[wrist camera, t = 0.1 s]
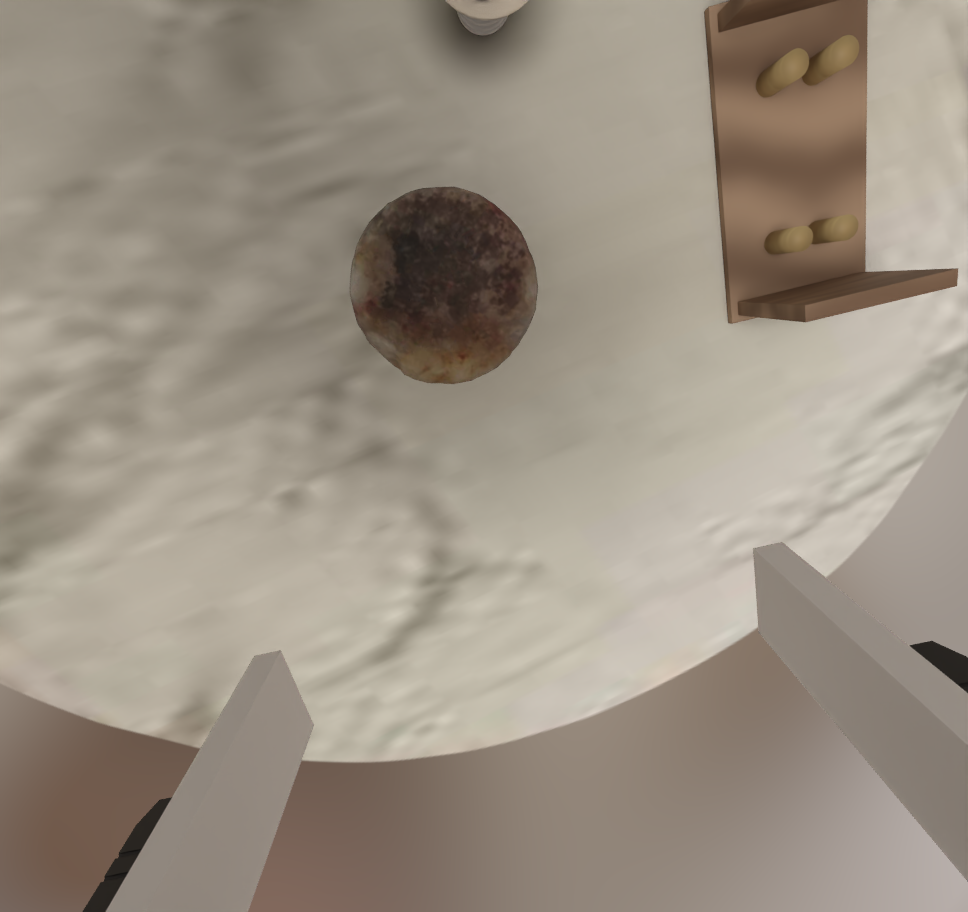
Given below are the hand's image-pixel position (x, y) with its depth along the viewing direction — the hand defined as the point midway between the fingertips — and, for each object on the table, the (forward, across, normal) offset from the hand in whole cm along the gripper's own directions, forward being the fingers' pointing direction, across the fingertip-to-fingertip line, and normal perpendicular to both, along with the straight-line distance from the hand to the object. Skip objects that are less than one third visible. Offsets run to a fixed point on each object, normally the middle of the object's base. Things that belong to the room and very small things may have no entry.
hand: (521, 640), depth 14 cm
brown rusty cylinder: (+28, 0, +9) cm, 30 cm away
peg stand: (+28, +25, +12) cm, 39 cm away
